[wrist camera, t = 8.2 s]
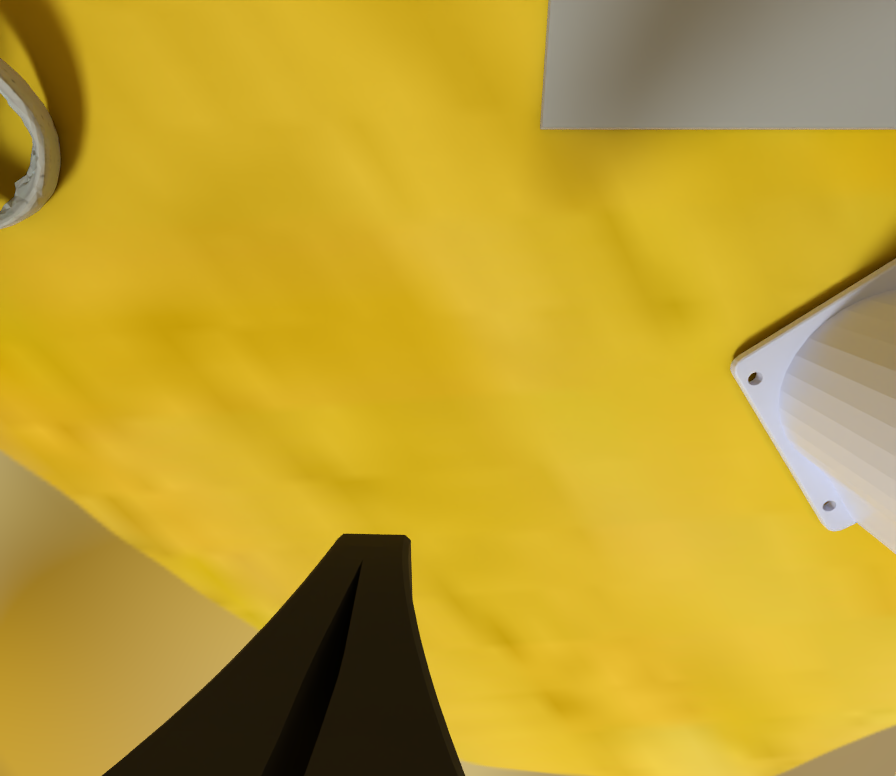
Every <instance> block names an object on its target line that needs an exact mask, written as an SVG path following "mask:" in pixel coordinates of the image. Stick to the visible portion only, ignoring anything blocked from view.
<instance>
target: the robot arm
mask: <svg viewBox="0 0 896 776" xmlns="http://www.w3.org/2000/svg"><path fill="white" fill-rule="evenodd" d="M730 369H731V373H732V375H733V376H734V378H735V380H736V381H737V383H738V385H739V386H740V388H741V390H742V391H743V393H744V395H745V396H746V398H747V400H748V401H749V403H750V405H751V406H752V408H753V410H754V411H755V413H756V415H757V416H758V418H759V420H760V422H761V423H762V425H763V427H764V428H765V430H766V432H767V433H768V435H769V437H770V438H771V440H772V442H773V443H774V445H775V447H776V448H777V450H778V452H779V453H780V455H781V457H782V458H783V460H784V462H785V463H786V465H787V467H788V468H789V470H790V472H791V473H792V475H793V477H794V478H795V480H796V482H797V483H798V485H799V487H800V488H801V490H802V492H803V493H804V495H805V497H806V499H807V500H808V502H809V504H810V505H811V507H812V509H813V510H814V512H815V514H816V515H817V517H818V519H819V520H820V522H821V523H822V524H823V525H824V526H825V527H826V528H827V529H828V530H831V531H840V530H842V529H845V528H847V527H849V526H851V525H853V524H855V523H858V524H859V525H860V526H862V527H863V528H864V529H865V530H867V531H868V532H869V533H870V534H872V535H873V536H874V537H875V538H877V539H878V540H879V541H880V542H882V543H883V544H884V545H885V546H887V547H888V548H889V549H890V550H892V551H893V552H894V553H895V554H896V258H895V259H894V260H892V261H891V262H889V263H887V264H886V265H884V266H882V267H881V268H879V269H878V270H876V271H874V272H873V273H871V274H870V275H868V276H866V277H865V278H863V279H861V280H860V281H858V282H857V283H855V284H853V285H852V286H850V287H848V288H847V289H845V290H844V291H842V292H840V293H839V294H837V295H835V296H834V297H832V298H831V299H829V300H827V301H826V302H824V303H823V304H821V305H819V306H818V307H816V308H814V309H813V310H811V311H810V312H808V313H806V314H805V315H803V316H801V317H800V318H798V319H797V320H795V321H793V322H792V323H790V324H789V325H787V326H785V327H784V328H782V329H780V330H779V331H777V332H776V333H774V334H772V335H771V336H769V337H767V338H766V339H764V340H763V341H761V342H759V343H758V344H756V345H754V346H753V347H751V348H750V349H748V350H746V351H745V352H743V353H742V354H740V355H738V356H737V357H736V358H735V359H734V360H733V362H732V363H731V368H730ZM755 372H756V374H757V375H756V377H755V379H753V380H752V381H750V382H748V378H749V376H750V375H751V374H752V373H755ZM827 501H828V503H827V504H825V505H824V503H826V502H827ZM102 776H465V774H464V771H463V769H462V766H461V763H460V761H459V758H458V755H457V753H456V750H455V747H454V745H453V742H452V739H451V737H450V734H449V731H448V728H447V725H446V722H445V719H444V716H443V714H442V711H441V708H440V705H439V702H438V699H437V695H436V692H435V689H434V686H433V682H432V679H431V676H430V672H429V669H428V665H427V661H426V658H425V654H424V650H423V647H422V643H421V639H420V634H419V630H418V625H417V620H416V615H415V610H414V605H413V600H412V570H411V540H410V539H409V538H408V537H407V536H405V535H380V534H343V535H342V536H340V537H339V538H338V539H337V541H336V542H335V543H334V545H333V546H332V547H331V548H330V550H329V551H328V552H327V553H326V555H325V556H324V557H323V559H322V560H321V561H320V562H319V564H318V565H317V566H316V567H315V568H314V570H313V571H312V572H311V573H310V575H309V576H308V577H307V578H306V579H305V581H304V582H303V583H302V584H301V585H300V587H299V588H298V589H297V590H296V591H295V592H294V593H293V595H292V596H291V597H290V598H289V599H288V600H287V601H286V603H285V604H284V605H283V606H282V607H281V608H280V609H279V611H278V612H277V613H276V614H275V615H274V616H273V617H272V618H271V620H270V621H269V622H268V623H267V624H266V625H265V626H264V627H263V628H262V629H261V630H260V631H259V632H258V633H257V634H256V635H255V636H254V637H253V639H252V640H251V641H250V642H249V643H248V644H247V645H246V646H245V647H244V648H243V649H242V650H241V651H240V652H239V653H238V654H237V655H236V656H235V657H234V658H233V659H232V660H231V661H230V662H229V663H228V664H227V665H226V666H225V667H224V668H223V669H222V670H221V671H220V672H219V673H218V674H217V675H216V676H215V677H214V678H213V679H212V680H211V681H210V682H209V683H208V684H207V685H206V686H205V687H204V688H203V689H201V691H199V692H198V693H197V694H196V695H195V696H194V697H193V698H192V699H191V700H190V701H188V702H187V703H186V704H185V705H184V706H183V707H182V708H181V709H180V710H179V711H177V712H176V713H175V714H174V715H173V716H172V717H171V718H170V719H169V720H167V721H166V722H165V723H164V724H163V725H162V726H160V727H159V728H158V729H157V730H156V731H155V732H153V733H152V734H151V735H150V736H149V737H148V738H147V739H145V740H144V741H143V742H142V743H140V744H139V745H138V746H137V747H136V748H135V749H133V750H132V751H131V752H130V753H129V754H128V755H127V756H125V757H124V758H123V759H122V760H121V761H119V762H118V763H117V764H116V765H114V766H113V767H112V768H111V769H109V770H108V771H107V772H106V773H105V774H103V775H102Z"/></svg>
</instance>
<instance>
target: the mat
mask: <svg viewBox="0 0 896 776" xmlns="http://www.w3.org/2000/svg"><path fill="white" fill-rule="evenodd" d="M540 129H896V0H549V4H548V19H547V34H546V49H545V64H544V79H543V94H542V110H541V125H540Z"/></svg>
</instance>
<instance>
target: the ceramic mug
mask: <svg viewBox="0 0 896 776" xmlns="http://www.w3.org/2000/svg"><path fill="white" fill-rule="evenodd" d="M0 93H1V94H2V95H3V96H4V97H5V98H6V99H7V101H8V104H9V105H10V106H11V108H12V109H13V110H14V111H15V112H16V113H17V114H18V115H19V116H20V117H21V118H22V120H23V122H24V125H25V126H26V128H27V129H28V131H29V133H30V134H31V136H32V138H33V147H32V154H31V163H30V167H29V169H28V171H27V173H26V175H25V176H24V177H22V178H21V179H19V180H18V181H16V182H15V187H16V192H15V195H14V197H13V198H12V199H11V200H10V201H9V202H7V203H6V204H5V205H4V206H3V208H2V210H1V211H0V229H2V228H6V227H9V226H13V225H15V224H17V223H19V222H20V221H22V220H24V219H26V218H28V217H30V216H31V215H33V214H34V213H36V212H37V211H39V210H40V209H41V207H42V206H43V205H44V204H45V203H46V202H47V200H48V199H49V198H50V197H51V196H52V194H53V193H54V191H55V188H56V186H57V182H58V177H59V172H60V167H61V156H60V145H59V137H58V134H57V132H56V129H55V126H54V123H53V121H52V118H51V116H50V114H49V112H48V111H47V109H46V107H45V106H44V104H43V103H42V102H41V100H40V99H39V98H38V97H37V95H36V94H35V93H34V92H33V90H32V89H31V88H30V86H29V85H28V84H27V82H26V81H25V80H24V79H23V78H22V77H21V76H20V75H19V74H18V73H17V72H16V71H15V70H14V69H12V68H11V67H10V66H9V65H8V64H7V63H5V62H4V61H3V60H2V59H1V58H0Z"/></svg>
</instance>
